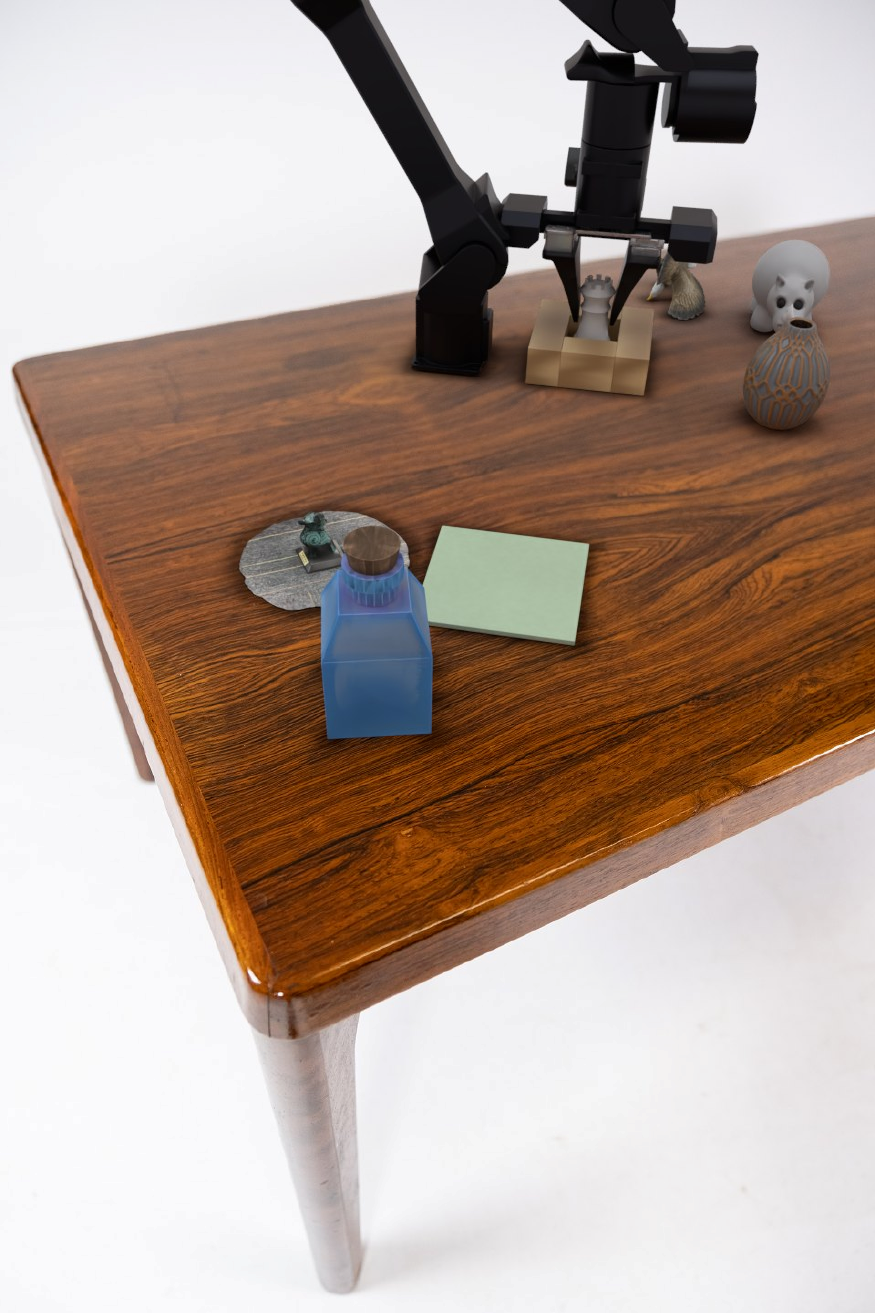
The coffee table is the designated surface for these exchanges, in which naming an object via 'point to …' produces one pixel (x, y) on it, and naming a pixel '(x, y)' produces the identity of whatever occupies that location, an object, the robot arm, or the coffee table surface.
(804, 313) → the round bodied animal figurine
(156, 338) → the coffee table surface
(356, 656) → the perfume bottle
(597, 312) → the rook chess piece
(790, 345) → the vase
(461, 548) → the mat
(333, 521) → the sculpture
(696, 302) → the eagle figurine
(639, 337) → the socket block
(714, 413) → the coffee table surface
